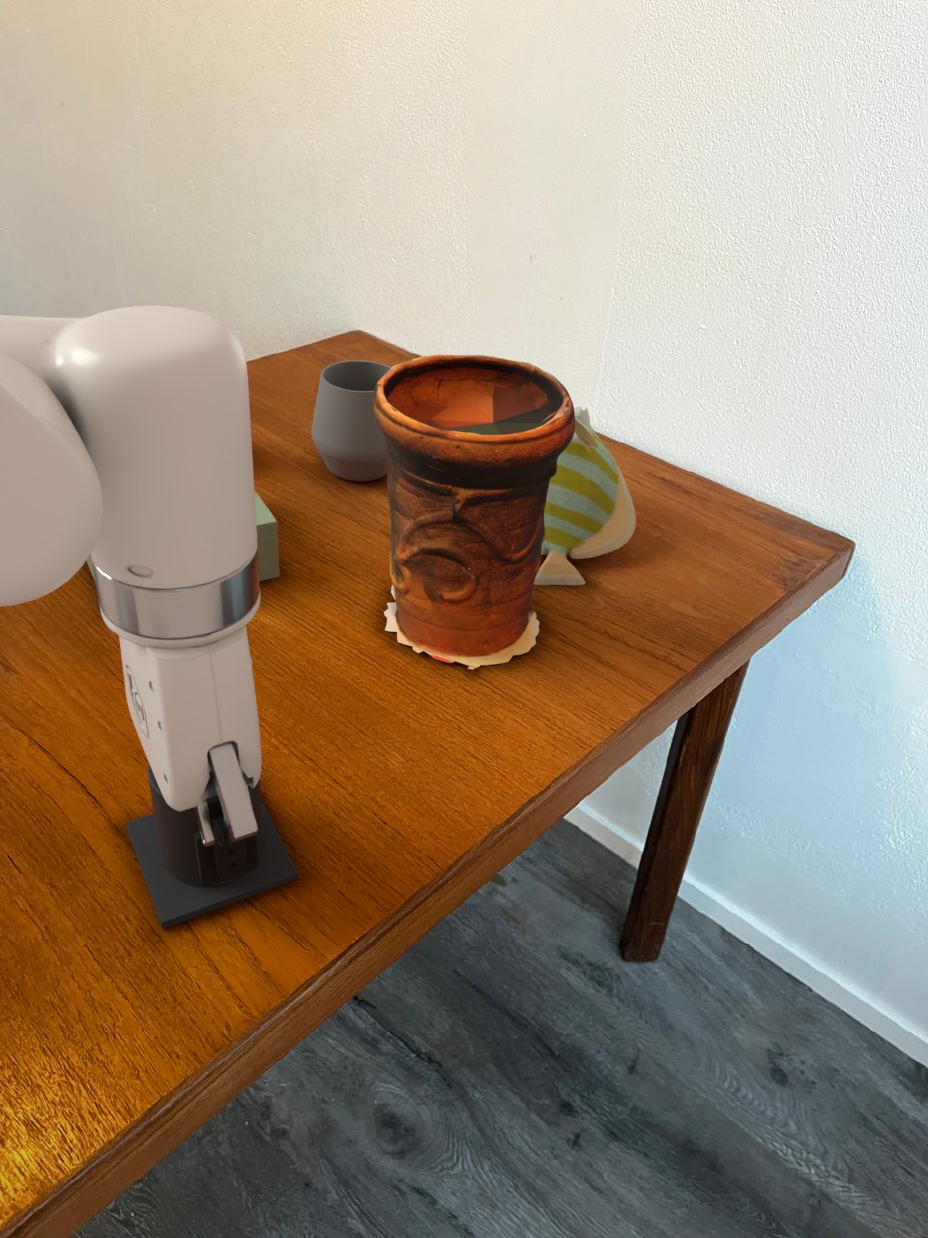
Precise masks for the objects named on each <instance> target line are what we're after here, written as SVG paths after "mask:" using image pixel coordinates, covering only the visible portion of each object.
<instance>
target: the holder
mask: <svg viewBox="0 0 928 1238" xmlns="http://www.w3.org/2000/svg"><path fill="white" fill-rule="evenodd" d="M209 774H210V778H209V781H208V782H210V781H213V777H212V773H211V771H210V772H209ZM147 778H148V785H149V791H150V796H151V803H152V809H153V814H154V816H155V822H156V828H157V834H158V840H159V846H160V852H161V858H162V862H163V864H164V866H165V868H166V869H167V871H168V872H169V873H170V874H171V875H172V876H173V877H175V878H176V879H177V880H179V881H181V882H183V883H186V884H189V885H193V886H199V887H212V886H219V885H223V884H227V883H230V882H232V881H234V880H236V879H238V878H240V877H242V876H243V875H245V874H246V873H245V874H243V875H241V876H239V877H237V878H234V879H231V880H226V881H222V882H219V883H217V884H214V885H211V886H203V884H202V882H201V879H200V876H199V869H198V861H197V853H196V846H195V838H194V834H195V833H197V832H198V831H200V830H199V826H198V822H197V817H196V813H195V809H194V808H190V809H187V810H184V811H181V812H180V811H177V810H175V809H173V808H171V807H170V806H169V805H168V804H167V803H166V801H165V799H164V797H163V795H162V793H161V790H160V788H159V786H158V783H157V781H156V779H155V776H154V774H153V771H152V769H151V766H150V764H149V763H148V765H147ZM248 790H249V795H250V799H251V804H252V808H253V813H254V816H255V819H256V823H257V826H258V834H256V838H257V851H258V860H259V858H260V856H261V854H262V851H263V847H264V832H263V817H262V803H263V801H262V788H261V778H260V779H259V781H258V783H257V785H256V786H255V787H254V788H251V787H250V786H248ZM261 801H262V802H261ZM207 805H208V809H209V814H210V818H211V821H212V820H215V819H218V818H221V817H224V815H223V811H222V807H221V804H220V800H219V797H217V798H214V799H211V800H207Z"/></svg>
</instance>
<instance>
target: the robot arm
mask: <svg viewBox="0 0 928 1238" xmlns="http://www.w3.org/2000/svg"><path fill="white" fill-rule="evenodd" d="M248 375H249V374H248V366H247V357H246V354H245V351H244V348H243V346H242V344H241V341H240V340H239V338H238V336H237V334H235V332H234V331H233V330H232V328H230V327H229V326H228V325H226V324H225V323H224V322H222V321H220V320H219V319H217V318H216V317H214V316H212V315H210V314H207V313H205V312H201V311H198V310H194V309H190V308H185V307H179V306H170V305H158V304H157V305H155V304H153V305H152V304H151V305H149V304H148V305H133V306H126V307H125V306H123V307H120V308H114V309H110V310H105V311H102V312H98V313H95V314H92V315H89V316H87V317H47V316H45V317H44V316H27V315H26V316H25V315H24V316H23V315H10V314H9V315H8V314H0V607H12V606H17V605H21V604H25V603H29V602H32V601H35V600H38V599H41V598H42V597H44V596H46V595H48V594H51V593H53V592H55V591H56V590H57V589H59V588H60V587H61V586H63V585H64V584H65V583H67V582H69V581H70V580H71V579H72V578H73V577H74V576H75V575H76V574H77V573H78V572H79V571H80V570H81V569H82V567H83V566H84V565H85V563H86V562H87V561H86V560H87V558H88V557H89V555H90V554H91V559H92V565H93V570H94V576H95V580H94V582H95V586H96V592H97V598H98V603H99V608H100V615H101V619H102V620H103V622H104V624H105V625H106V627H107V628H108V629H109V630H110V631H111V632H112V633H114V634H115V635H117V636H118V640H119V647H120V656H121V665H122V672H123V673H122V674H123V681H124V690H125V698H126V702H127V707H128V711H129V714H130V717H131V720H132V723H133V727H134V729H135V731H136V734H137V737H138V739H139V742H140V743H141V747H142V749H143V751H144V754H145V757H146V760H147V761H148V765H149V764H150V766H151V769H152V771H153V774H154V776H155V779H156V781H157V783H158V786H159V788H160V790H161V793H162V795H163V797H164V799H165V801H166V803H167V804H168V805H169V806H170V807H171V808H173V809H175V810H177V811H180V812H181V811H184V810H187V809H190V808H194V809H195V813H196V817H197V822H198V826H199V830H200V831H198V832H197V833H195V834H194V838H195V846H196V853H197V861H198V869H199V876H200V879H201V882H202V884H203V886H211V885H214V884H217V883H219V882H222V881H226V880H231V879H234V878H237V877H239V876H241V875H243V874H245V873H247V872H250V871H253V870H255V869H256V868H257V867H258V851H257V838H256V834H258V826H257V823H256V819H255V816H254V813H253V808H252V804H251V799H250V795H249V790H248V786H250V787H251V788H254V787H255V786H256V785H257V783H258V781H259V779H260V780H261V775H262V743H261V742H262V741H261V731H260V721H259V720H260V719H259V711H258V702H257V701H258V700H257V694H256V685H255V678H254V677H255V676H254V670H253V662H254V661H253V659H252V658H251V657H252V656H251V651H250V644H249V643H250V642H249V637H248V631H247V625H248V624H249V623H250V621H252V619H254V617H255V615H257V612H258V610H259V609H260V605H261V600H262V599H261V581H260V579H259V561H258V544H257V527H256V510H255V492H254V490H255V477H254V476H255V475H254V461H253V460H254V458H253V443H252V442H253V441H252V424H251V423H252V422H251V409H250V390H249V388H250V387H249V376H248ZM210 771H211V773H212V777H213V781H210V782H208V781H209V778H210V774H209V772H210ZM217 797H219V800H220V804H221V807H222V811H223V815H224V817H221V818H218V819H215V820H212V821H211V818H210V814H209V809H208V805H207V800H211V799H214V798H217Z"/></svg>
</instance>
